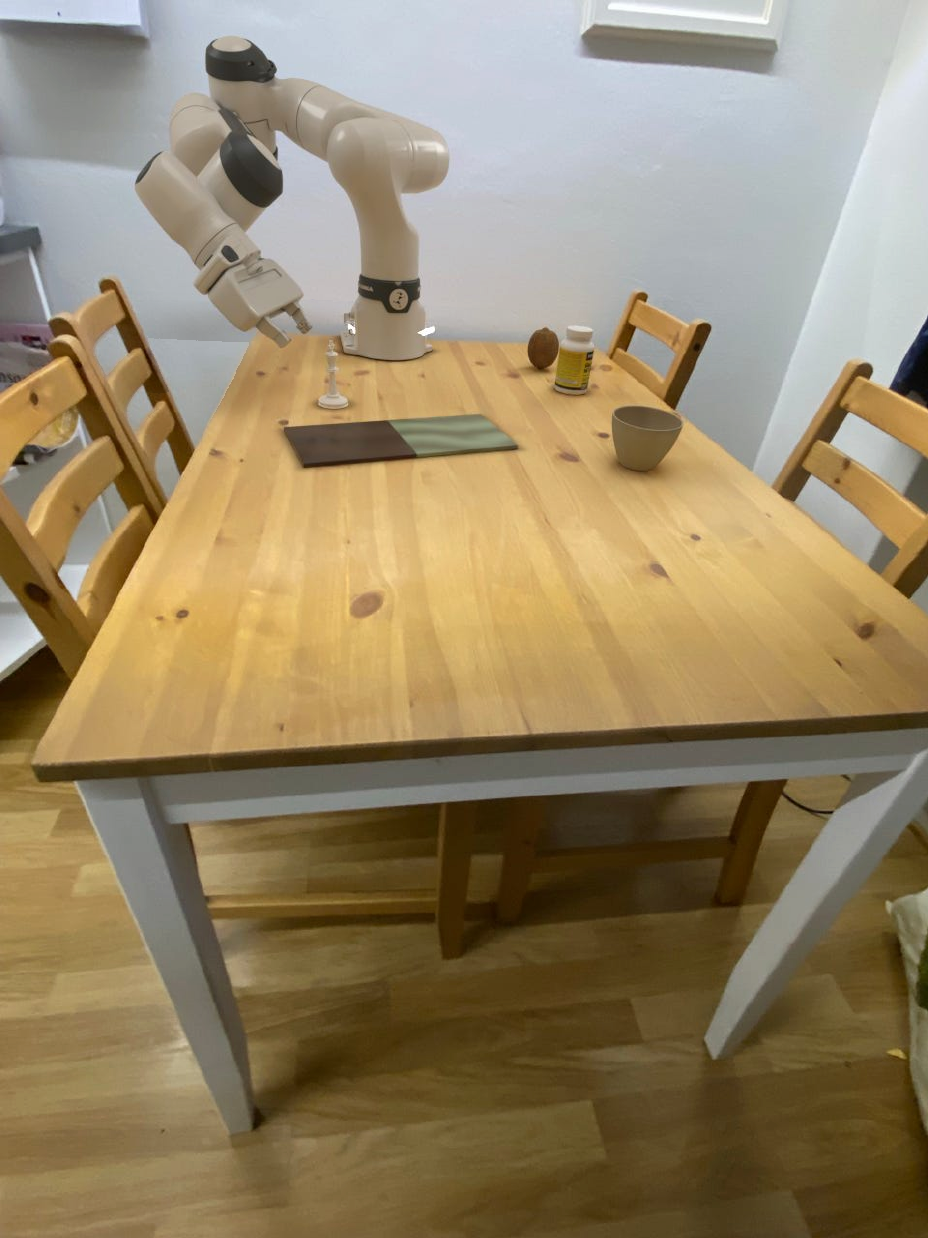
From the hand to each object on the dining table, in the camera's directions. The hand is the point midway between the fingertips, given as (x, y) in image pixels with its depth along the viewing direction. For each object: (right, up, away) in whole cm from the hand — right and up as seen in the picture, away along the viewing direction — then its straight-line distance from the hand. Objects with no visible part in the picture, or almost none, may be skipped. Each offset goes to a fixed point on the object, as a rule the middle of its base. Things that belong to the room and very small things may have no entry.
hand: (298, 337), depth 110 cm
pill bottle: (+46, -2, +21) cm, 51 cm away
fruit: (+42, +6, +32) cm, 53 cm away
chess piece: (+5, -9, +5) cm, 11 cm away
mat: (+17, -18, -6) cm, 25 cm away
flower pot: (+52, -22, -7) cm, 56 cm away
